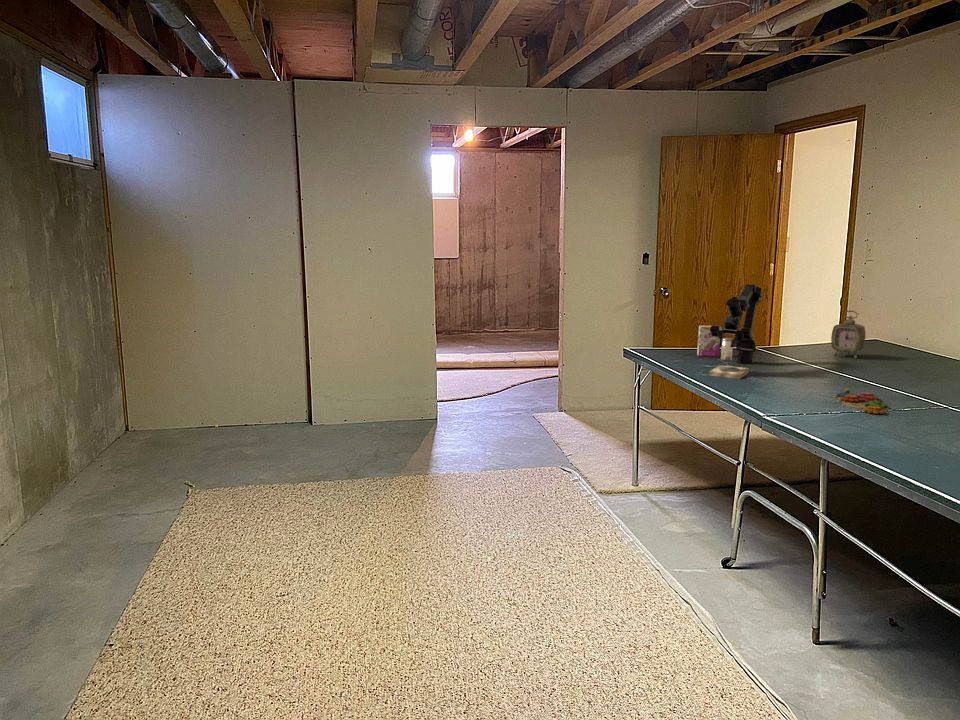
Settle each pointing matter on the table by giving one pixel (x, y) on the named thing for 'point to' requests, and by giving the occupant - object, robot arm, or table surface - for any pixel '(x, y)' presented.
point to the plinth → (729, 372)
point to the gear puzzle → (862, 401)
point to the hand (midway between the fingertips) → (726, 346)
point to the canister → (726, 349)
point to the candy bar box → (707, 343)
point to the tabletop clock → (848, 336)
